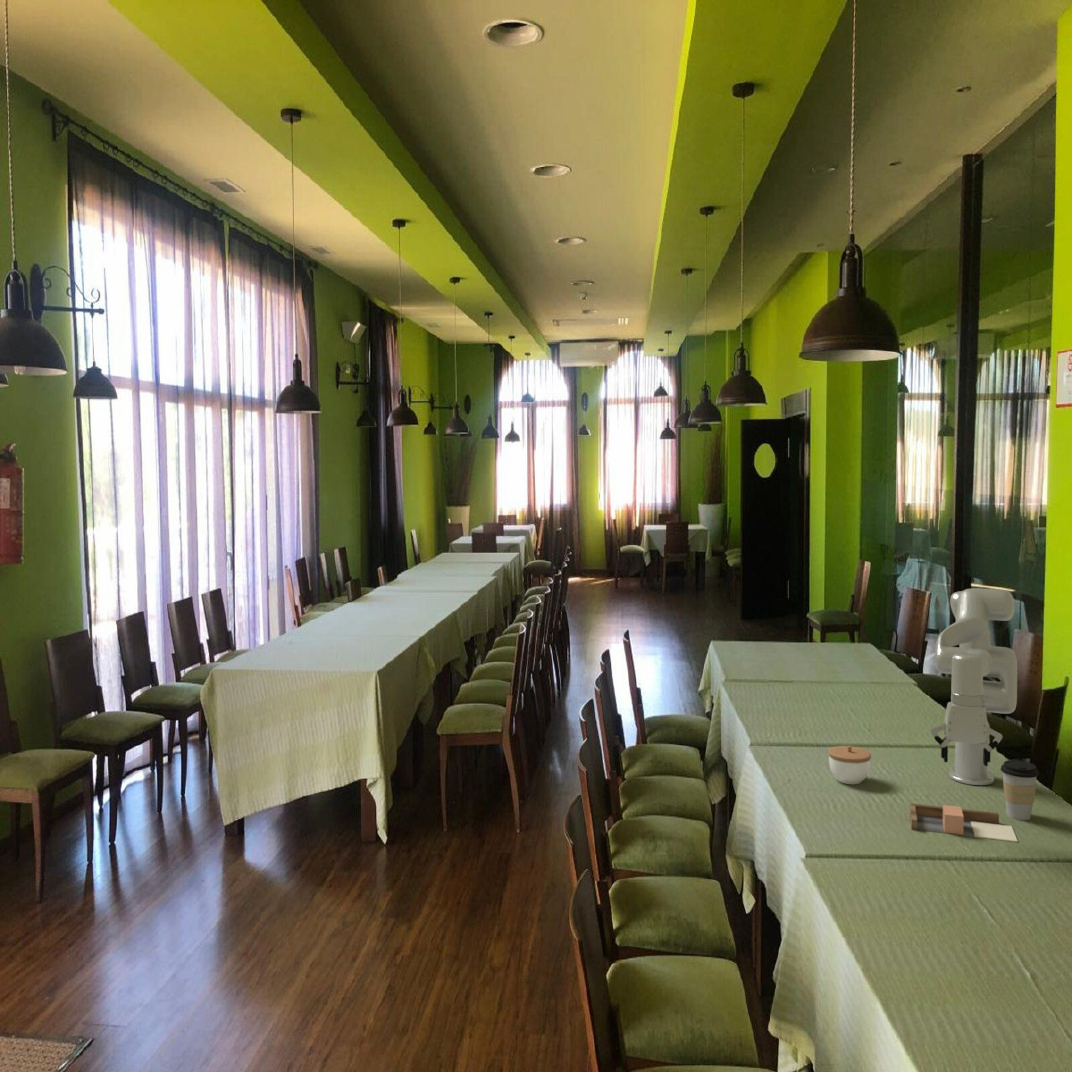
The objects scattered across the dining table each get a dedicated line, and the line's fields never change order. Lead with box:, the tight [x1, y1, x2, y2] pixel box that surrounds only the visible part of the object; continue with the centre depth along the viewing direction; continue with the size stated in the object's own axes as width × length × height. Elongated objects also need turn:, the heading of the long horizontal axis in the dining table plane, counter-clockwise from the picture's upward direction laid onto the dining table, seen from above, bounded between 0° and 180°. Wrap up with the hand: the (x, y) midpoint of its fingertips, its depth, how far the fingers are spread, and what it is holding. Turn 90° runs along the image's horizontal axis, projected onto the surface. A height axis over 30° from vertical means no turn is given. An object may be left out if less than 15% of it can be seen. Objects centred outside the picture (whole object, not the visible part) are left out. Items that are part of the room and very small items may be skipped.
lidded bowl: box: [827, 745, 872, 785], centre depth 272 cm, size 13×13×11 cm
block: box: [942, 804, 964, 836], centre depth 235 cm, size 7×4×5 cm, turn 159°
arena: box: [909, 803, 1019, 843], centre depth 236 cm, size 12×26×3 cm, turn 69°
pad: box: [971, 821, 1018, 843], centre depth 232 cm, size 10×10×1 cm
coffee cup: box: [1000, 759, 1040, 821], centre depth 242 cm, size 9×9×15 cm
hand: (965, 762), depth 231 cm, fingers open, 9 cm apart
